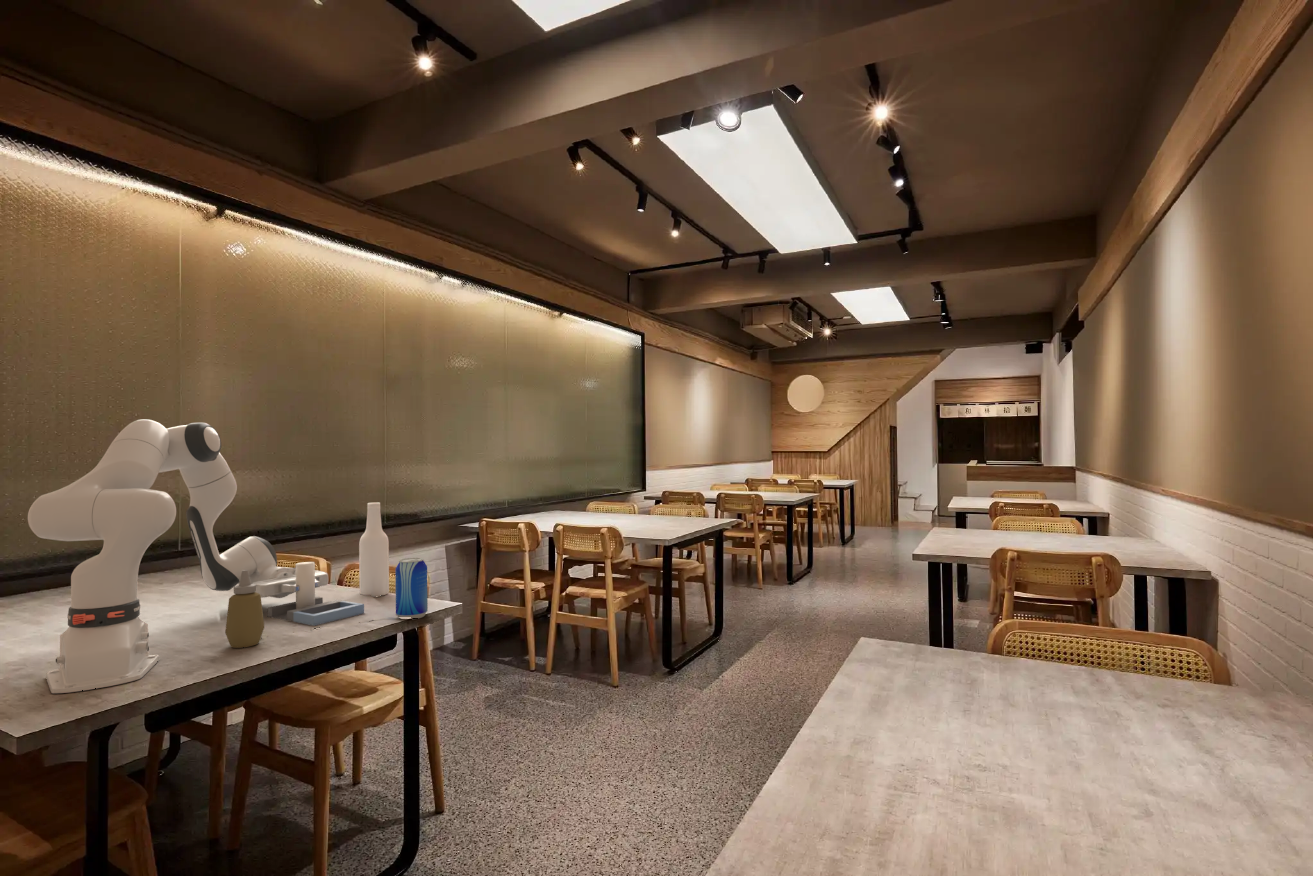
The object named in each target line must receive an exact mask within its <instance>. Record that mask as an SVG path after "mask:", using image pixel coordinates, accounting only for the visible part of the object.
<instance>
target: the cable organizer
mask: <svg viewBox="0 0 1313 876" xmlns="http://www.w3.org/2000/svg"><path fill="white" fill-rule="evenodd" d="M323 601H324V598H323V596H322V597H321V596H315V605H312V606H307V607H303V608H298V609H296V601H291V602H287V603H283V604H278V605H273V606H269V607H268V606H267V617H268V618H271V619H272V618H273V619H277V620H283V621H288V622H293V623H296V624H297V623H298V624H303V625H307V626H312V627H314V629H316V628H317V627H316V626H319V627H318V628H320V627H321V626H320V625H324V624H329V623H332V622H337V621H340V620H344V619H348V618H349V619H350V618H351V617H357V616H361V615H364V614H366V612H365V603H360V602H355V601H354V602H353V601H347V600H341V599H334V600H330V601H326V602H323ZM267 617H266V618H267ZM314 629H313V630H314ZM320 629H321V628H320ZM316 630H317V629H316Z"/></svg>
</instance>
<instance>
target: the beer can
mask: <svg viewBox="0 0 1313 876" xmlns="http://www.w3.org/2000/svg"><path fill="white" fill-rule="evenodd" d="M394 571H395V572H394V573H395V615H396V616H397V617H411V618H418V619H422V618H424V617H425V616H426V614H427V612H428V610H429V609H428V608H429V607H428V565H427V564H426V562H425V559H424V557H408V558H406V557H405V558H402V559H399V560H398V564H397V565H396V567H395V570H394Z"/></svg>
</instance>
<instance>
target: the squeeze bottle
mask: <svg viewBox="0 0 1313 876" xmlns="http://www.w3.org/2000/svg"><path fill="white" fill-rule="evenodd" d="M255 591H256V584H251V581H250V577H249V573H248V570H243V571H242V574H241V578H240V582H239V585H238V584H237V585H236V586H234V587H233V595H231V596H229V598H228V605H227V613H226V624H225V631H224V633H225V636H226V638H227V641H228V643H229V645H230V647H231V648H234V649H235V648H236V649H240V648H241V649H242V648H243V647H244V648H249V647H253V646H255V645H258V644H259V643H260V641H261V637H262V635H263V632H264V629H265V622H264V613H263V605H262V603H263V602H262V598H261V595H260V594H259V593H256V592H255Z"/></svg>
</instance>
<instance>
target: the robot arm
mask: <svg viewBox="0 0 1313 876" xmlns="http://www.w3.org/2000/svg"><path fill="white" fill-rule="evenodd" d="M220 436H221V435H220V434H219V432H218V431H217V430H216V429H215V427H213V426H212V425H210V424H209V423H207V422H191V423H188V424H186V425H183V424H182V425H177V426H172V427H168V428H166V427H165V426H164V425H163V424H161V423H160V422H157V421H155V420H152V419H137V420H134V421H132V422H130V423H128V424H127V425H126V426H125V427H124V428H123V429H122V430H121V431H120V432H118V434H117V435H116V437H115V438H114V439H113V440H112V441H111V443H110V445H109V446H108V448H107V450H106V451H105V453H104V455H103V456H102V458H101V459H100V460H99V461H98V463H97V465H95V467H94V468H93V469H92V470H90V471H89V472H88V473H86V474H85V475H83V476H82V477H80V478H78V479H77V480H75V481H73V482H72V483H70V484H68V485H66V486H64V487H62V488H60V489H57V490H54V491H52V492H51V491H50V492H48V493H45V494H41V495H40V496H38V497H37V498H36V499H35V500H34V502H33V503H32V504H31V506H30V508H29V510H28V513H27V522H28V527H29V528H30V530H31V532H32V533H34V535H36V536H37V537H38V538H41V539H45V540H46V539H47V540H53V541H62V542H79V541H100V540H101V541H103V547H102V549H101V550H100V552H99V554H97V555H93V556H92V557H90V558H87V559H86V560H83V561H82V562H81V563H79V564H78V565H77V566H75V568H74V569H73V571H72V573H71V576H70V607H68V613H67V626H68V628H67V629H66V630H65V631H63V632H62V633H61V634H60V635H59V656H57V657H56V658H55V663H56V665H58V664H59V668H55V669H52V670H49V671H46V673H45V679H47V680H46V682H47V685H48V687H49V690H50V692H51V694H64V693H74V692H82V690H83V691H89V690H94V689H95V688H96V689H100V688H106V687H112V686H117V685H122V684H126V683H129V682H134V681H137V680H140V679H142V678H143V677H144V676H145V675H146V674H147V673H148V672H149V671H150V670H151V669H152V668H153V667H154V666H155V664H157V663H158V662H159V660H160V656H159V654H150V651H149V650H150V645H149V637H150V636H149V635H150V633H149V624H148V623H147V622H146V621H144V620H142V619H141V618H140V614H141V604H140V599H139V598H138V581H139V580H138V578H139V568H140V564H141V561H142V558H143V557H144V554H145V552H146V551H147V549H148V548H149V547H150V545H151V544H152V543H153V542H154V541H155V540H156V539H158V538H159V537H160V536H161V535H163V534H165V533H166V532H167V531H169V529H170V528H171V527H172V525H174V522H175V520H176V517H177V507H176V503H175V500H174V499H173V498H172V496H171V495H170V494H169V493H167V492H166V491H162V490H156V489H151V488H152V486H153V485H154V483H155V481H156V479H157V477H158V475H159V473H165V472H170V471H171V472H172V471H176V470H179V472H180V475H181V477H182V479H183V482H184V483H185V486H186V487H187V489H188V492H189V500H190V501H189V506H188V507H187V510H186V512H185V516H186V522H187V526H188V530H189V533H190V537H191V538H192V542H193V545H194V548H195V552H196V555H197V558H198V562H199V566H200V567H199V569H200V574H201V577H202V580H203V581H204V583H205V584H206V586H207V587H208V588H209V589H210V590H213V591H217V592H218V591H219V592H226V591H230V590H232V589H234V586H237V585H239V582H240V578H241V574H242V571H243V570H248V573H249V577H250V581H251V584H256V591H255V592H256V593H259V594H260V595H261V599H262V598H267V597H268V598H269V597H270V598H275V599H282V598H286V597H288V596H289V595H292V594H294V593H295V594H296V592H297V591H299V585H296V567H286V566H277V564H278V556H277V553H276V550H275V548H274V546H273V545H272V544H271V543H270V542H269V541H268V540H267V539H264V538H262V537H259V536H255V535H253V536H249V537H246V538H245V539H243V540H241V541H239V542H238V543H236V544H234V546H232V547H230V548H229V549H227V550H225V551H224V552H222V553H220V552H219V550H218V549H219V548H218V546H217V541H216V539H215V536H214V535H215V534H214V532H213V528H214V525H215V523H216V521H217V519H218V518H219V516H220V515H221V514H222V513H223V511H225V510H226V508H227V507H228V506H229V505H230V504H231V503H232V502H233V500H234V498H235V496H236V494H237V491H238V490H237V489H238V485H237V481H236V478H235V476H234V474H233V471H231V468H230V466H229V465H228V463H227V460H225V458H224V457H223V455H222V454H221V450H222V449H221V448H222V441H221V437H220ZM328 584H329V573H328V572H327V571H323V570H322V571H321V570H317V569H315V589H316V588H320V587H325V586H328ZM157 661H158V662H157Z"/></svg>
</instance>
